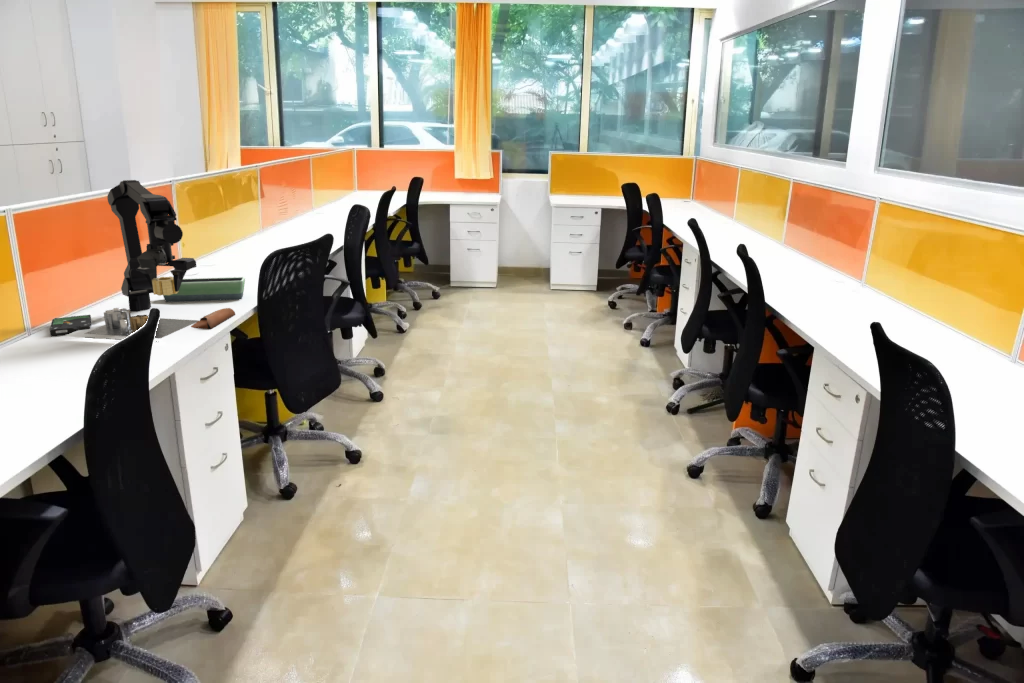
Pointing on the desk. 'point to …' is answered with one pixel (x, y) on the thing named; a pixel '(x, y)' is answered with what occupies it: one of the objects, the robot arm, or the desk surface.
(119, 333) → the carrier
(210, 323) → the sunglasses case
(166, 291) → the brass gear
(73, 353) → the desk surface
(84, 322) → the disk drive
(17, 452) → the desk surface
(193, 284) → the planter
